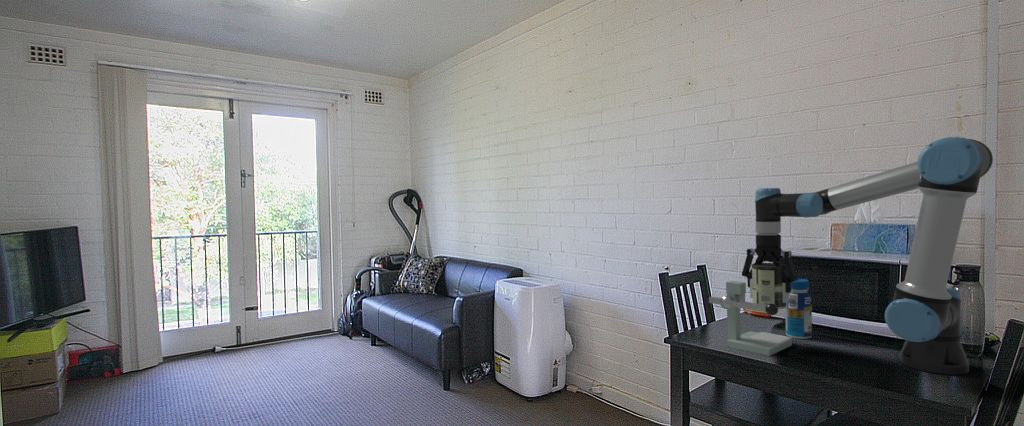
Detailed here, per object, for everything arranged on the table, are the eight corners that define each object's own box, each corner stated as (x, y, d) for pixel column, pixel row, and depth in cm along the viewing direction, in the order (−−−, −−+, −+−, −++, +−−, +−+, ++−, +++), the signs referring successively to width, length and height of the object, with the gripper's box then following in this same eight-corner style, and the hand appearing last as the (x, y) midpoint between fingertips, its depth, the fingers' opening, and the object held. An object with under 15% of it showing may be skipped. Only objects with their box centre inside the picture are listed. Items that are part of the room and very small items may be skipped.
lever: (780, 315, 154) (780, 302, 154) (774, 317, 152) (774, 304, 151) (713, 304, 171) (713, 293, 171) (707, 306, 169) (707, 294, 169)
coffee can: (780, 302, 171) (780, 262, 170) (791, 310, 161) (790, 267, 160) (748, 302, 173) (747, 262, 172) (756, 309, 163) (756, 267, 162)
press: (793, 344, 166) (792, 281, 165) (769, 356, 155) (767, 288, 155) (749, 335, 178) (748, 276, 177) (723, 345, 167) (722, 283, 166)
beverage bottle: (780, 332, 180) (780, 278, 179) (805, 332, 179) (804, 277, 178) (791, 339, 171) (790, 282, 171) (817, 339, 170) (816, 281, 170)
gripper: (809, 234, 159) (810, 303, 160) (741, 231, 177) (741, 293, 178) (799, 236, 155) (800, 306, 156) (730, 233, 173) (731, 296, 173)
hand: (769, 299), depth 167 cm, fingers closed on coffee can, 10 cm apart
